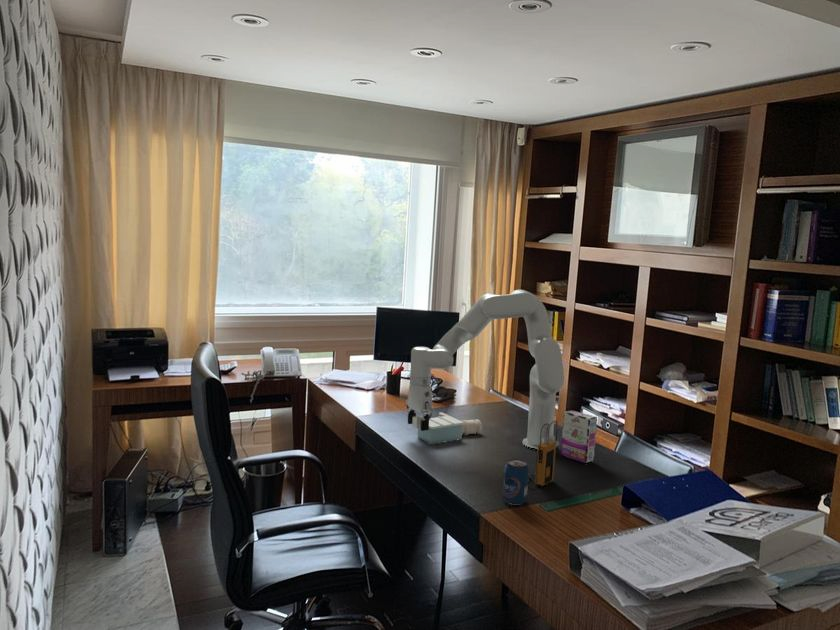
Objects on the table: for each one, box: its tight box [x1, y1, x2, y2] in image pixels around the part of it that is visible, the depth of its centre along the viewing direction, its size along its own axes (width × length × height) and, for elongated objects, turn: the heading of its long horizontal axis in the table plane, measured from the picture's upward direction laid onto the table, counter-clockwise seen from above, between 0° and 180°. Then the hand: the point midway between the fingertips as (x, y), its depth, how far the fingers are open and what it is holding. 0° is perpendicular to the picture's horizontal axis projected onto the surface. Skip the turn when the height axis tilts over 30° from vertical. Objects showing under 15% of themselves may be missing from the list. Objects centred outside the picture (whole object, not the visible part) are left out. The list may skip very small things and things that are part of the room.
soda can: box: [502, 458, 530, 504], centre depth 183 cm, size 7×7×12 cm
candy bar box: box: [560, 409, 598, 463], centre depth 222 cm, size 11×5×16 cm, turn 40°
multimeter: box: [534, 420, 558, 489], centre depth 200 cm, size 15×10×20 cm
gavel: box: [438, 411, 483, 436], centre depth 258 cm, size 10×6×32 cm
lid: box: [411, 415, 464, 429], centre depth 236 cm, size 10×19×4 cm, turn 123°
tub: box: [417, 425, 463, 445], centre depth 238 cm, size 9×14×6 cm, turn 123°
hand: (418, 426), depth 232 cm, fingers open, 8 cm apart
